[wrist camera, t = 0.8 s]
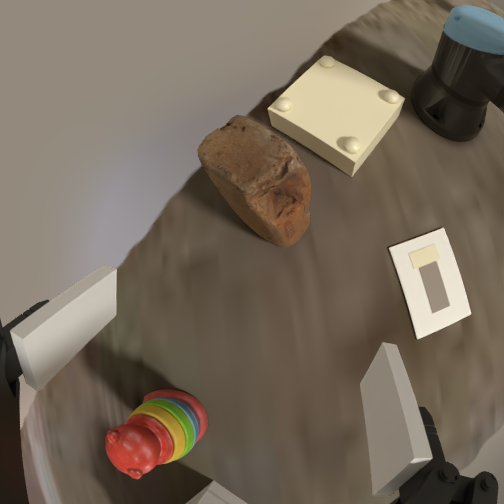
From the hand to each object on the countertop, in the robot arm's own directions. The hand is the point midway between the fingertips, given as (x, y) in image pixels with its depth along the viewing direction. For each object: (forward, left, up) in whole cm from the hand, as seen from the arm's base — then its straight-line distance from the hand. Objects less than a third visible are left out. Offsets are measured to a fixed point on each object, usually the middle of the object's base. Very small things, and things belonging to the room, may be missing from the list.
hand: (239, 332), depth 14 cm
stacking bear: (+16, +17, -30) cm, 38 cm away
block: (+3, -15, -30) cm, 34 cm away
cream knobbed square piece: (-7, -33, -30) cm, 45 cm away
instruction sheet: (-21, -6, -30) cm, 37 cm away
